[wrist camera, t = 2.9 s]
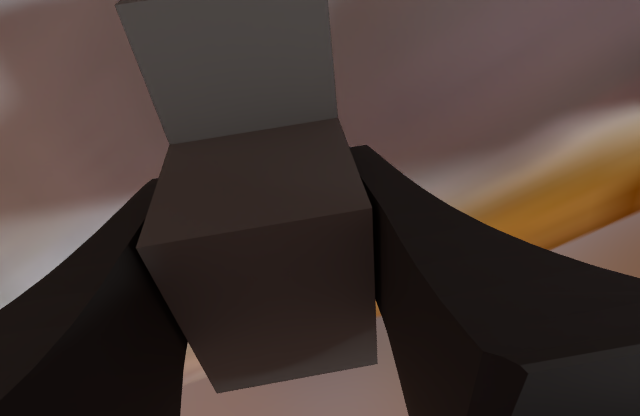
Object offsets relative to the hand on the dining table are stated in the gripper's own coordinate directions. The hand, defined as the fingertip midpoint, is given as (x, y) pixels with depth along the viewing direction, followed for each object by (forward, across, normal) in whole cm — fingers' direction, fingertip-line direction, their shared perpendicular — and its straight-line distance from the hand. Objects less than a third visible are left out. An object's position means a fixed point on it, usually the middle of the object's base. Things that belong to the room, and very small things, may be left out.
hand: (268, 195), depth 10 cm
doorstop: (+3, 0, -1) cm, 3 cm away
